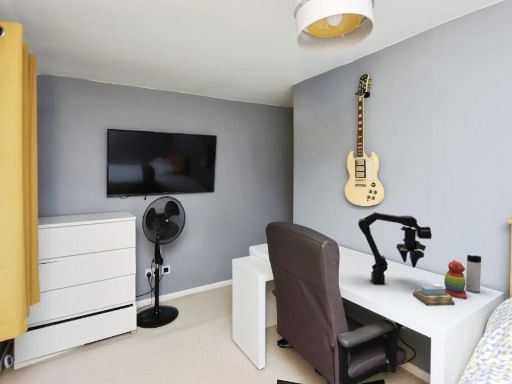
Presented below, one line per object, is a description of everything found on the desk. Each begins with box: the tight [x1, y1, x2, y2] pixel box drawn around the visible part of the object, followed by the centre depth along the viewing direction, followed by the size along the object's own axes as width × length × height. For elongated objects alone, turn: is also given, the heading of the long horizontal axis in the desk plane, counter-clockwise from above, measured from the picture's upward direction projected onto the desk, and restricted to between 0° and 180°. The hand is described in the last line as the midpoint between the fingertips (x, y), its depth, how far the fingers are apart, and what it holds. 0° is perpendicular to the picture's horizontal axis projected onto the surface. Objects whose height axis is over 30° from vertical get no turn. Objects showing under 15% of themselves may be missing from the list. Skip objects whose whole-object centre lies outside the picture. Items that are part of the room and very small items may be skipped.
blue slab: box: [420, 283, 445, 296], centre depth 149 cm, size 10×4×6 cm, turn 90°
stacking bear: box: [443, 259, 468, 300], centre depth 155 cm, size 11×10×18 cm
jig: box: [412, 289, 455, 307], centre depth 150 cm, size 14×12×4 cm
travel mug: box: [465, 254, 482, 294], centre depth 159 cm, size 6×7×20 cm
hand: (409, 264), depth 168 cm, fingers open, 9 cm apart
